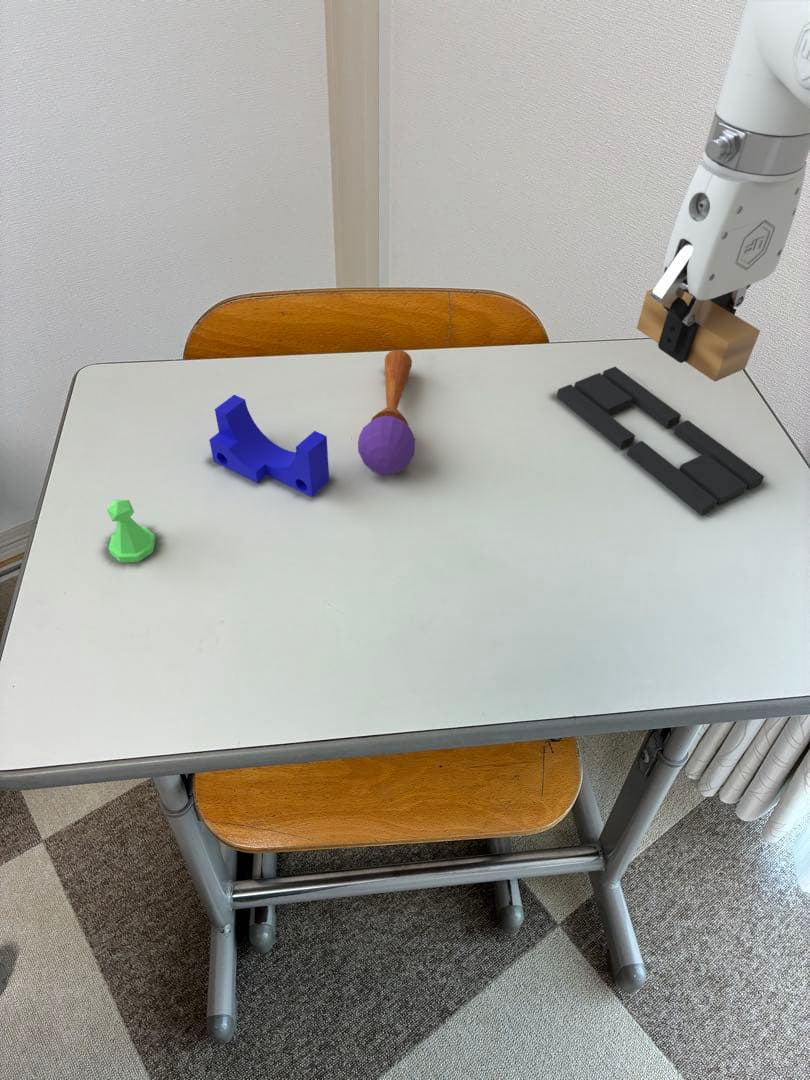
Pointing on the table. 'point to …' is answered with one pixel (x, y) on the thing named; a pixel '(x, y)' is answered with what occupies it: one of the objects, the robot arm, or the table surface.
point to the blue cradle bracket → (267, 451)
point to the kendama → (389, 423)
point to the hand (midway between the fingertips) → (690, 345)
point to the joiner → (707, 337)
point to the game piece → (128, 534)
